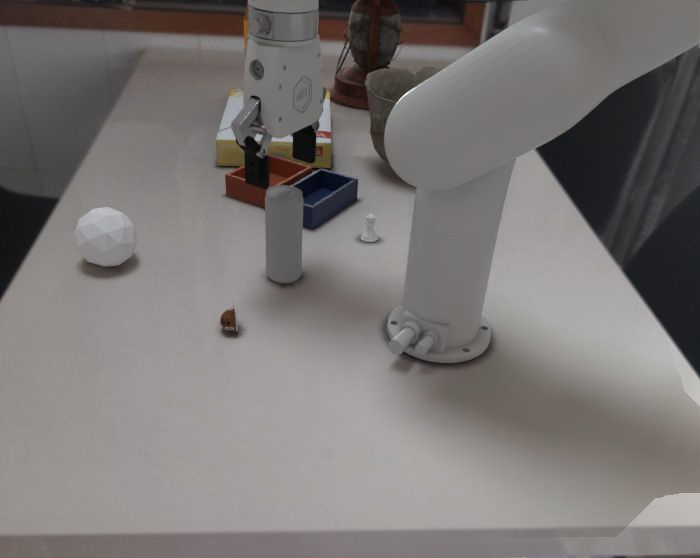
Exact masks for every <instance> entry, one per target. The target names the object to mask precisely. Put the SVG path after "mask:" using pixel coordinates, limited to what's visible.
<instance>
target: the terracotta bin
mask: <svg viewBox="0 0 700 558" xmlns="http://www.w3.org/2000/svg"><path fill="white" fill-rule="evenodd" d="M266 155H268V156H269V158H270V185H269V187H268V188H267V189H262V188H259V187H256V186H253V185H251V184H248V183H246V181H245V165H243V166H238V167H237V168H235V169H234V170H231V171H230V172H228V173H227V172H226V173H225V174H224V178H225V195H226V196H227V197H230V198H233V199H236V200H239V201H241V202H244V203H248V204H251V205H254V206H257V207H260V208H263V209H265V197H266V191H267V190H268V189H269V188H271V187H274V186H280V185H286V186H290V185H292V184H294V183H296V182H297V181H299V180H301V179H303V178H304V177H306V176H308V175H310V174H311V173H313V168H312V167H310V166H307V165H304V164H300V163H297V162H294V161H290V160H287V159H284V158H280V157H277V156H273V155H270V154H266Z"/></svg>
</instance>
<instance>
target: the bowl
mask: <svg viewBox="0 0 700 558" xmlns="http://www.w3.org/2000/svg"><path fill="white" fill-rule="evenodd" d="M443 69H444V68H443V67H442V68H441V67H436V66H435V67H434V66H423V67H422V68H421V69H420V70H419V71H416V74H415V73H414V72H411V71H410V70H409V69H408V68H406V67H401V68H399V67H390V68H389V69H386V68H385V69H379V70H376V71H373V72H371V73H369V74H368V75H367V76H366V81H365V85H366V90H367V94H368V103H369V110H368V111H369V116H370V117H369V119H370V121H369V122H370V125H369V134H370V139H371V141H372V145H373V148H374V150H375V153H377V155H378V156H379V157H380V159H381V160H383V161H384V162H385V163H386V164H388V166H390V167H391V165H390V163H389V161H388V159H387V156H386V152H385V147H384V132H385V127H386V123H387V120H388V117H389V115H390V113H391V111H392V109H393V107H394V106H395V105H396V103H397V102H398V101H399V100H400V99H401V97H403V96H404V95H405V94H406V93H407V92H409V91H410V90H412V89H413V88H415V87H416V86H418V85H419V84H421V83H423V82H424V81H426V80H427V79H429V78H430V77H432V76H433V75H435V74H437V73H438V72H440V71H441V70H443Z"/></svg>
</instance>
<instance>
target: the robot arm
mask: <svg viewBox="0 0 700 558" xmlns="http://www.w3.org/2000/svg"><path fill="white" fill-rule="evenodd" d="M319 1H320V0H247V2H248V34H249V38H250V39H249V40H248V44H247V51H246V59H245V58H244V69H243V70H244V72H243V88H242V89H243V109H242V110H241V111H240V113H239V114H238V115H237V116H236V118H235V119H234V120H233V121H232V123H231V129H232V131H233V133H234V136H235V138H236V143H237V144H238V145H239V146H240V147H241V151H242V152H244V157H245V181H246V183H248V184H251V185H253V186H256V187H259V188H262V189H267V188H268V187H269V185H270V158H269V156H268V155H265V154H266V152H267V150H268V147H269V145H270V142H271V140H272V138H273V137H274V138H278V139H280V138H283V137H286V136H288V135H290V134H292V133H293V151H292V156H293V158H295V159H298V160H301V161H304V162H307V163H310V164H312V163H314V162H315V160H316V136H317V132H314V131H318V129H319V126H320V123H319V121H318V120H319V118H320V117H321V115H322V112H323V103H324V100H325V96H326V93H327V90H328V89H327V88H326V86H324V76H323V75H324V74H323V71H324V70H323V69H324V68H323V54H322V46H321V38H320V35H319V33H318V30H319V29H318V28H319V27H318V26H319ZM699 44H700V0H565V1H564V2H561V3H558V4H555V5H552V6H550V7H546V8H545V9H542V10H540V11H538V12H536V13H533V14H531V15H529V16H527V17H525V18H523V19H521V20H519V21H517V22H516V23H514V24H512V25H510V26H508V27H507V28H505V29H503V30H502V31H500V32H499V33H497V34H495V35H494V36H493V37H491V38H489V39H488V40H486V41H484V42H482V43H481V44H480V45H478V46H477V47H475V48H474V49H472V50H471V51H469V52H468V53H466V54H465V55H463V56H462V57H459V58H458V59H457V60H455V61H454V62H452V63H450V64H449V65H447V66H446V67H445V68H443V70H441V71H440V72H438V73H437V74H435V75H433V76H432V77H430V78H429V79H427V80H426V81H424V82H423V83H421V84H419V85H418V86H416V87H415V88H413V89H412V90H410V91H409V92H407V93H406V94H405V95H404V96H403V97H401V99H400V100H399V101H398V102H397V103H396V105H395V106H394V107H393V109H392V111H391V113H390V115H389V117H388V120H387V123H386V127H385V132H384V147H385V152H386V156H387V159H388V161H389V163H390V165H391V166H390V165H389V166H390V167H391V169H392V170H393V172H395V174H396V175H397V176H398V178H400V179H401V180H402V181H404V182H405V183H407V184H409V185H410V186H412V187H415V195H414V202H413V211H412V217H411V226H410V234H409V243H408V250H407V251H408V253H407V258H406V259H407V260H406V267H405V277H404V278H405V279H404V286H403V295H402V296H403V297H402V303H401V304H398V305H397V306H396V307H394V308H393V309H392V310H391V312H390V313H389V315H388V318H387V322H386V331H387V335H388V337H389V339H390V340H389V342H388V344H387V348H388V350H389V352H391V354H393V355H397V356H400V355H401V354H403V353H406V354H408V355H409V356H411V357H414V358H416V359H419V360H423V361H427V362H431V363H437V364H457V363H463V362H467V361H470V360H474V359H475V358H477V357H479V356H481V355H482V354H483V353H485V351H486V350H487V349H488V347H489V346H490V343H491V339H492V338H491V337H492V329H491V326H490V324H489V321H488V320H487V319H486V318H485V316H484V315H483V310H484V305H485V302H486V301H485V300H486V296H487V295H486V294H487V291H488V285H489V280H490V274H491V270H492V265H493V260H494V255H495V251H496V244H497V239H498V234H499V230H500V225H501V221H502V217H503V211H504V206H505V203H506V197H507V192H508V188H509V184H510V180H511V177H512V174H513V170H514V168H515V164H516V161H517V158H519V157H522V156H524V155H526V154H527V153H529V152H531V151H533V150H535V149H537V148H539V147H541V146H543V145H545V144H547V143H549V142H551V141H553V140H554V139H556V138H557V137H559V136H561V135H563V134H564V133H566V132H567V131H569V130H570V129H572V128H573V127H574V126H576V125H577V124H579V122H581V120H583V118H585V117H586V116H587V115H589V114H590V113H591V112H592V111H593V110H594V109H595V108H596V107H598V106H599V105H600V104H601V103H603V101H604V100H605V99H606V98H607V97H609V96H610V95H612V94H613V93H614V92H616V91H617V90H619V89H620V88H622V87H624V86H625V85H627V84H629V83H631V82H633V81H634V80H636V79H638V78H640V77H642V76H644V75H646V74H649V72H651V71H653V70H655V69H657V68H659V67H661V66H662V65H664V64H667V63H668V62H670V61H671V60H673V59H674V58H676V57H678V56H680V55H682V54H684V53H685V52H687V51H689V50H691V49H692V48H694V47H696V46H698V45H699ZM263 126H264V127H265V128H263ZM256 134H259V135H263V136H262V138H261V141H260V143H259V144H258V143H257V142H256V141H255V136H256Z"/></svg>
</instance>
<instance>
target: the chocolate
mask: <svg viewBox="0 0 700 558" xmlns="http://www.w3.org/2000/svg"><path fill="white" fill-rule="evenodd" d="M234 306H235V305H234V299H232V301H231V305H230V309H226V310H225V311H223V312H222V314H220V315H221V316H220V317H219V324H220V326H221V327H222V328H223V330H225V331H228V332H229V333H234V334H235V333H237V332H238V331H239V327H238V310H237V309H236V308H235V307H234Z"/></svg>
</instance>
